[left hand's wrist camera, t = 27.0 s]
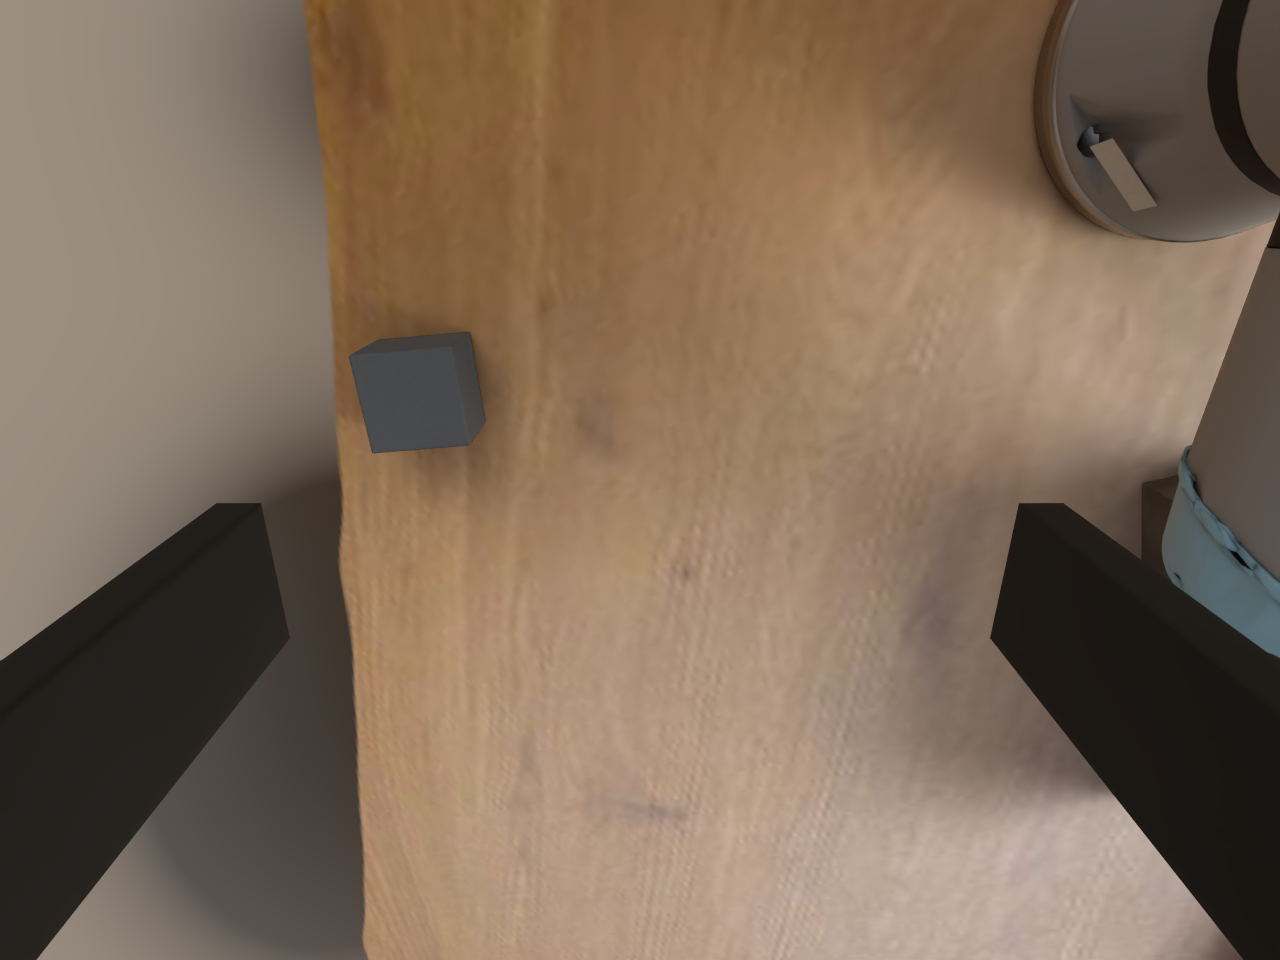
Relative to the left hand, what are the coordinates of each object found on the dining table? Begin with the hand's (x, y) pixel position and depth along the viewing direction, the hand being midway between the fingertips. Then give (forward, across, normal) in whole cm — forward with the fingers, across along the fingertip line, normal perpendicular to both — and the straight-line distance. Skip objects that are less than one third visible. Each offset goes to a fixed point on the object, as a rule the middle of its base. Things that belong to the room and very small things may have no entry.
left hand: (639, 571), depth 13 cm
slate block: (+27, -11, -3) cm, 29 cm away
